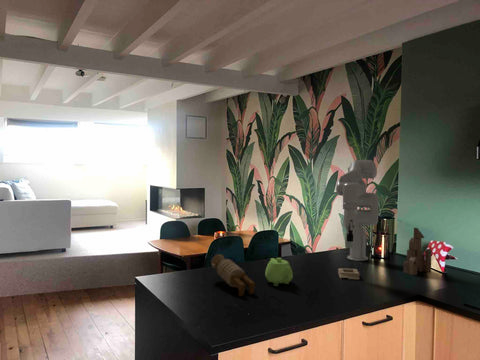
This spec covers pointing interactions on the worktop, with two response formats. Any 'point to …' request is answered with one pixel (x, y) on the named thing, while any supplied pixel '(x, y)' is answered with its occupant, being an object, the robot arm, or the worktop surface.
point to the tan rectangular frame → (348, 273)
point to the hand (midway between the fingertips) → (349, 240)
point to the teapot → (278, 271)
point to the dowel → (347, 243)
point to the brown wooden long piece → (232, 274)
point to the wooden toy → (417, 256)
